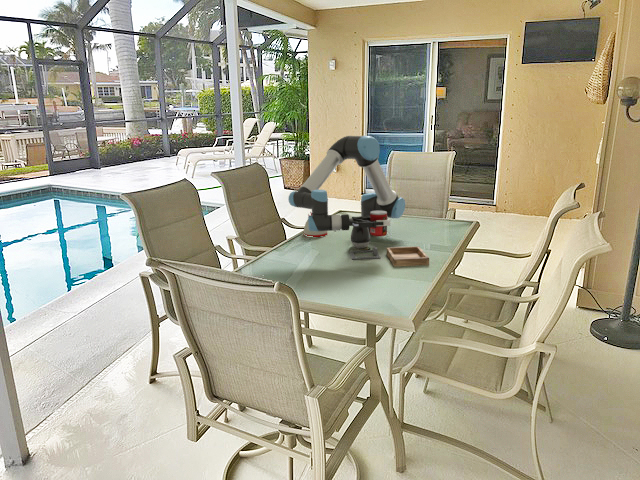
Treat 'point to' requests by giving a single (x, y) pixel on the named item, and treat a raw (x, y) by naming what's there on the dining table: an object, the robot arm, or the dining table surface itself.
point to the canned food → (379, 229)
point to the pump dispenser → (360, 237)
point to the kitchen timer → (313, 233)
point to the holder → (365, 251)
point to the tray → (407, 256)
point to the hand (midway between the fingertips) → (388, 220)
